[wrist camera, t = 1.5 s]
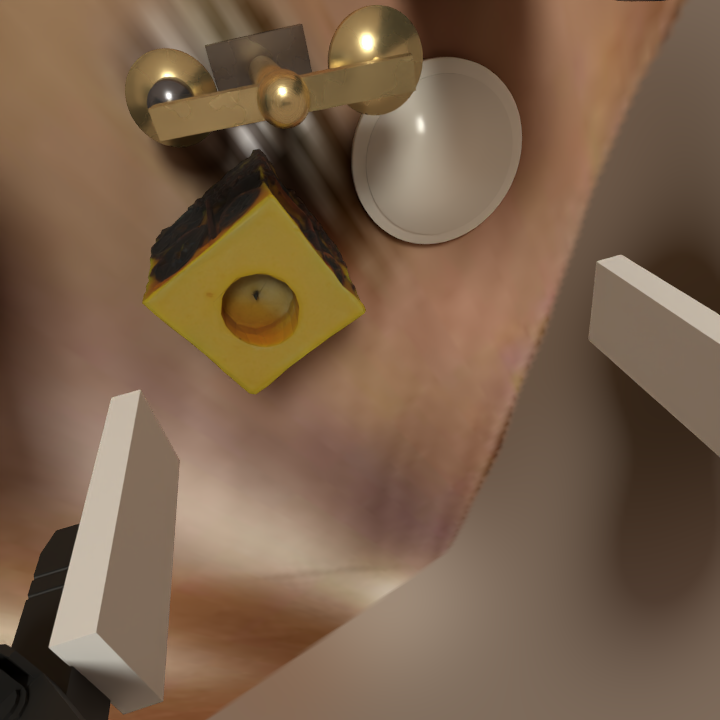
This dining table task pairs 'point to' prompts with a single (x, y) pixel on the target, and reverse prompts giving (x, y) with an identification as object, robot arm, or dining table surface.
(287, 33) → the balance
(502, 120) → the dish
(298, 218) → the candle
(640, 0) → the water bottle
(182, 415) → the dining table surface
